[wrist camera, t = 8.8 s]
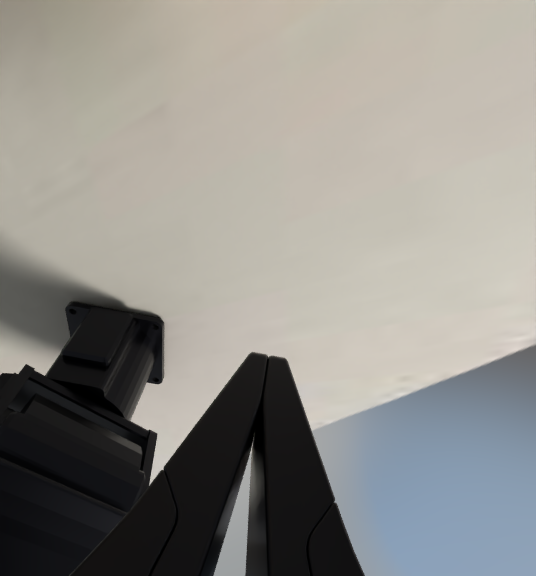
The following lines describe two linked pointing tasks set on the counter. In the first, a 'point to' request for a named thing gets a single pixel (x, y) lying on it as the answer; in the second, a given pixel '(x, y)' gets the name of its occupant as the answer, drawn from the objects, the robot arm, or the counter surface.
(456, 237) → the counter surface
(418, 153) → the counter surface
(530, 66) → the counter surface
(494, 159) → the counter surface
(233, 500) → the robot arm
